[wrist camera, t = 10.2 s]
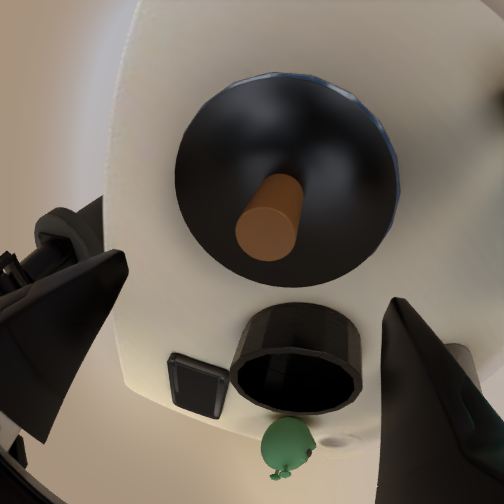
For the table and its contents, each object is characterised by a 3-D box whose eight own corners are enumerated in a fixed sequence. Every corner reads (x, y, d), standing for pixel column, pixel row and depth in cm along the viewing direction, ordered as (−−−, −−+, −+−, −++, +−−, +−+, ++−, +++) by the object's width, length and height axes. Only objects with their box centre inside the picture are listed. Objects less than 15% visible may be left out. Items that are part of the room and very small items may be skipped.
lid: (189, 261, 20) (152, 314, 15) (179, 79, 13) (117, 81, 9) (364, 290, 18) (371, 355, 13) (408, 99, 11) (454, 105, 6)
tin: (243, 366, 30) (231, 403, 26) (244, 291, 23) (228, 335, 19) (342, 382, 28) (340, 420, 24) (377, 312, 22) (382, 358, 18)
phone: (229, 379, 30) (218, 420, 38) (231, 371, 31) (220, 415, 39) (165, 357, 30) (172, 404, 39) (169, 350, 31) (174, 399, 40)
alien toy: (308, 431, 37) (298, 486, 29) (262, 420, 37) (247, 477, 29) (328, 416, 33) (319, 480, 25) (276, 404, 33) (260, 470, 25)
